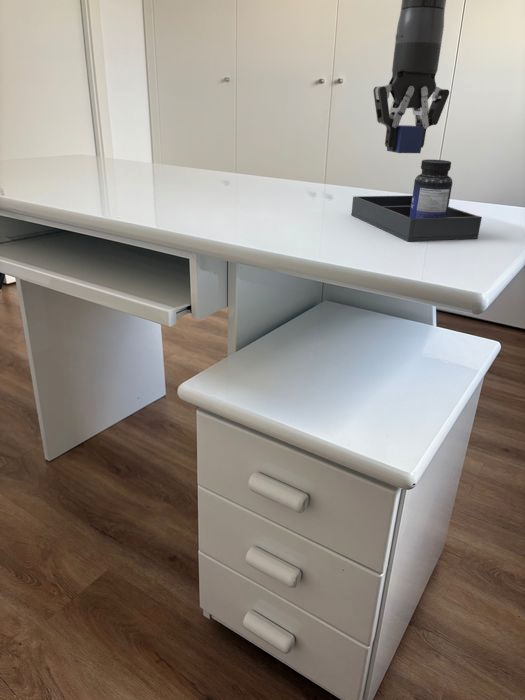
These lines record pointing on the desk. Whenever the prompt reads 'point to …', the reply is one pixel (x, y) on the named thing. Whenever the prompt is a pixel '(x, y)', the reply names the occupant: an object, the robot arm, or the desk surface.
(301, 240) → the desk surface
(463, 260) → the desk surface
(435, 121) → the robot arm
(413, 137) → the navy block
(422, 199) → the pill bottle
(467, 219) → the sorting tray
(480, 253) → the desk surface
